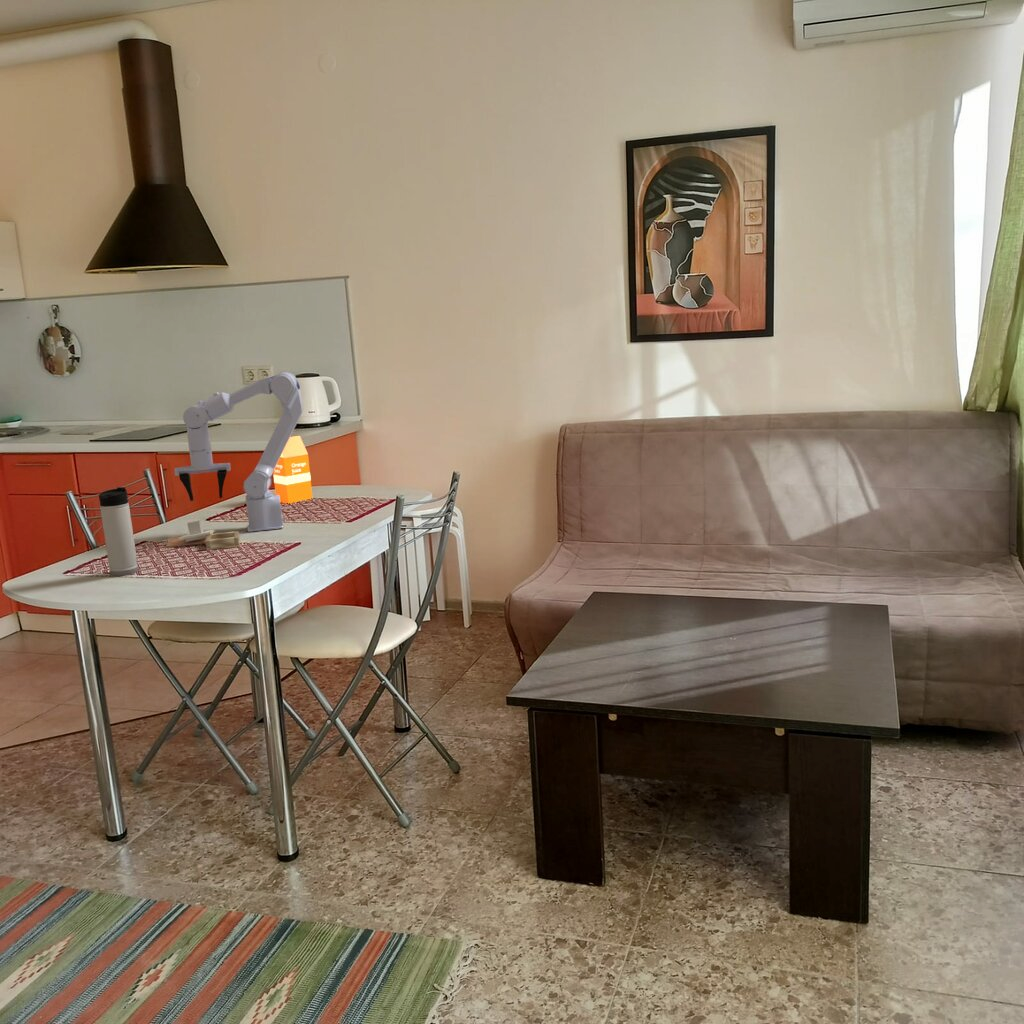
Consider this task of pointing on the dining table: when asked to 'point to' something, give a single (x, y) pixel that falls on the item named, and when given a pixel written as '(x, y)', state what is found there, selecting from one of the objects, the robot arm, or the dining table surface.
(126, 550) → the travel mug
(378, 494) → the dining table surface
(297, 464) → the orange juice
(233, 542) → the box
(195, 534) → the lid
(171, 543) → the mat
